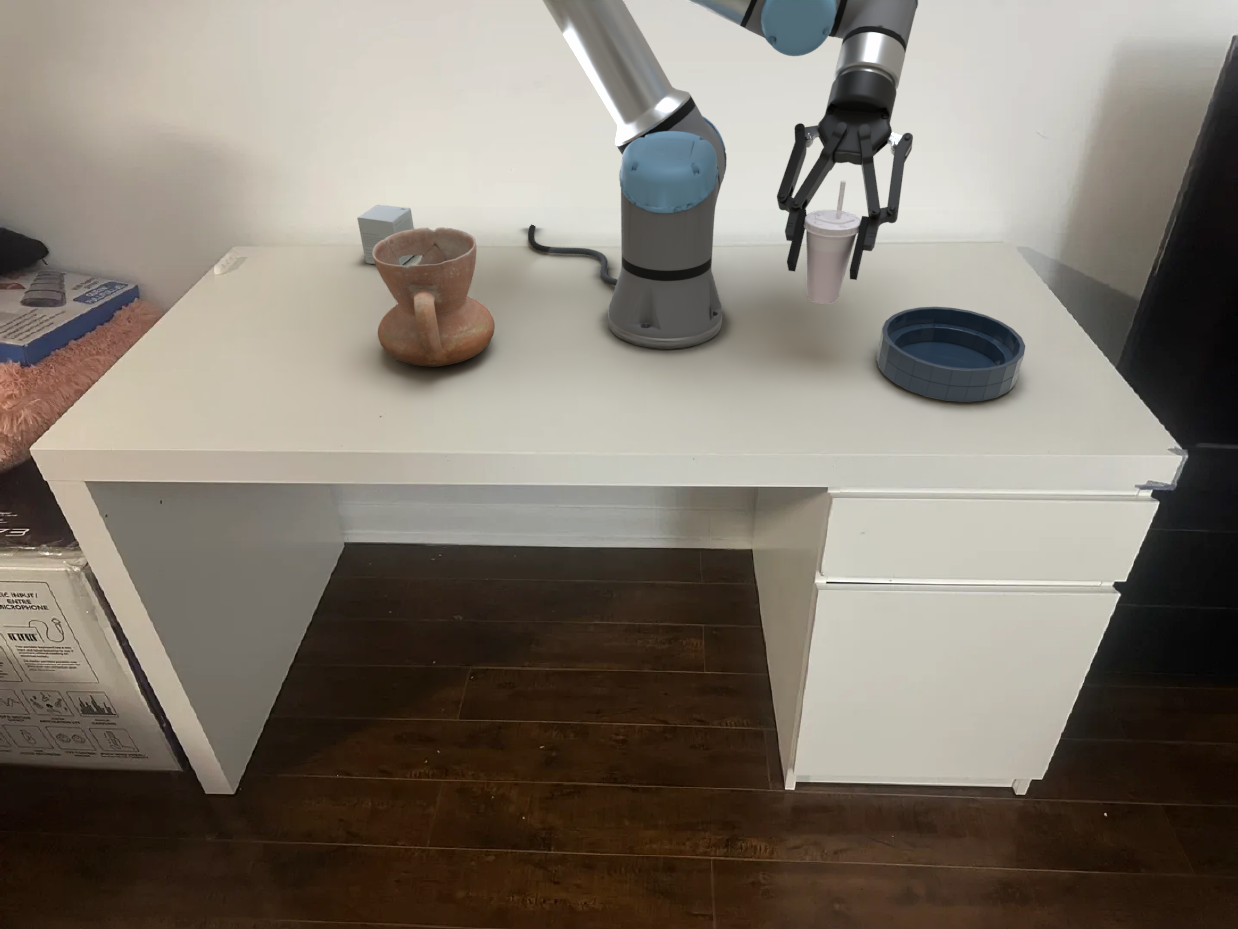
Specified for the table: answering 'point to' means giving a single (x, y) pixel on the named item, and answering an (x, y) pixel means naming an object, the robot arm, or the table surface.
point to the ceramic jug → (432, 298)
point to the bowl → (950, 353)
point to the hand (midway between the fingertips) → (821, 270)
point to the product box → (383, 227)
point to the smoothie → (829, 250)
